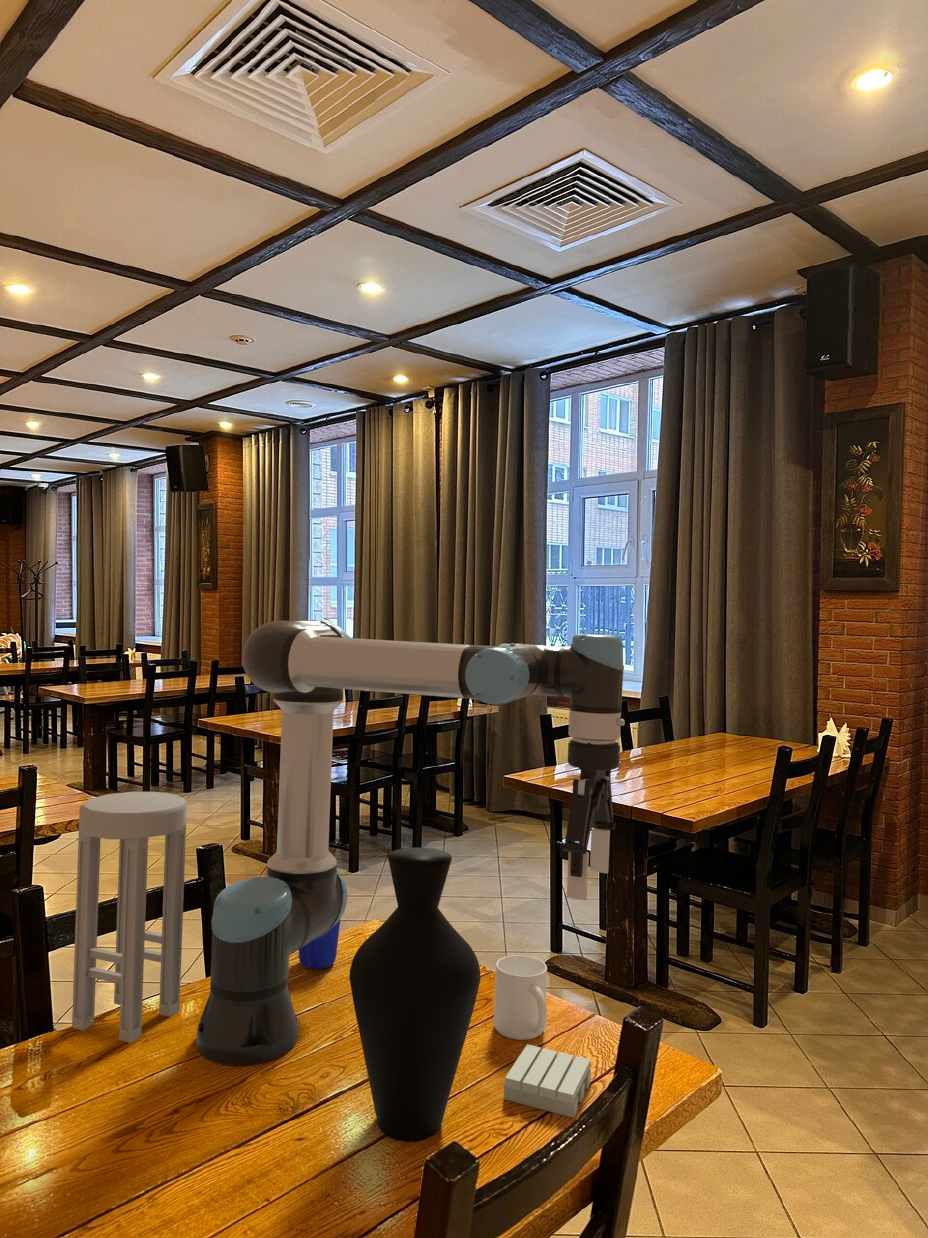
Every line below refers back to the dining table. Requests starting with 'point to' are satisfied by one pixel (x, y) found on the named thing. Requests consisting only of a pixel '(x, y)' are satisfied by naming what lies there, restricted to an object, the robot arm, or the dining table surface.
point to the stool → (129, 904)
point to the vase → (414, 999)
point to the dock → (548, 1080)
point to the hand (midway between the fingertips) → (588, 884)
